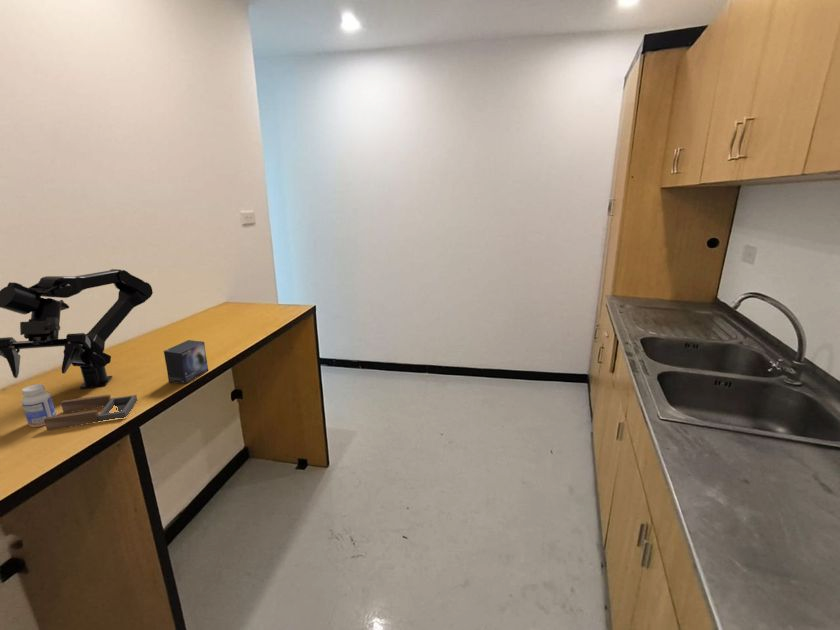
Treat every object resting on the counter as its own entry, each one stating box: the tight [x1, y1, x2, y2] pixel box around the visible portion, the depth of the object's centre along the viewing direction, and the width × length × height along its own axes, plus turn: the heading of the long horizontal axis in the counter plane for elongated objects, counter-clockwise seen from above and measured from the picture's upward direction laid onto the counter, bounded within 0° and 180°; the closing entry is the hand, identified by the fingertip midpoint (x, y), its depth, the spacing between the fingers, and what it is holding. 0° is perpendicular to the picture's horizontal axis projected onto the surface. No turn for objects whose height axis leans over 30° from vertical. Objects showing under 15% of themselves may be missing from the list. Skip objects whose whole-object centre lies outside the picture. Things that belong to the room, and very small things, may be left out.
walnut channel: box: [44, 394, 111, 431], centre depth 105 cm, size 10×10×3 cm
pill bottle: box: [20, 383, 57, 428], centre depth 101 cm, size 5×5×10 cm
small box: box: [163, 339, 209, 384], centre depth 127 cm, size 11×6×10 cm, turn 168°
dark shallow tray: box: [98, 394, 138, 421], centre depth 108 cm, size 10×6×2 cm, turn 20°
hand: (39, 375), depth 102 cm, fingers open, 9 cm apart
